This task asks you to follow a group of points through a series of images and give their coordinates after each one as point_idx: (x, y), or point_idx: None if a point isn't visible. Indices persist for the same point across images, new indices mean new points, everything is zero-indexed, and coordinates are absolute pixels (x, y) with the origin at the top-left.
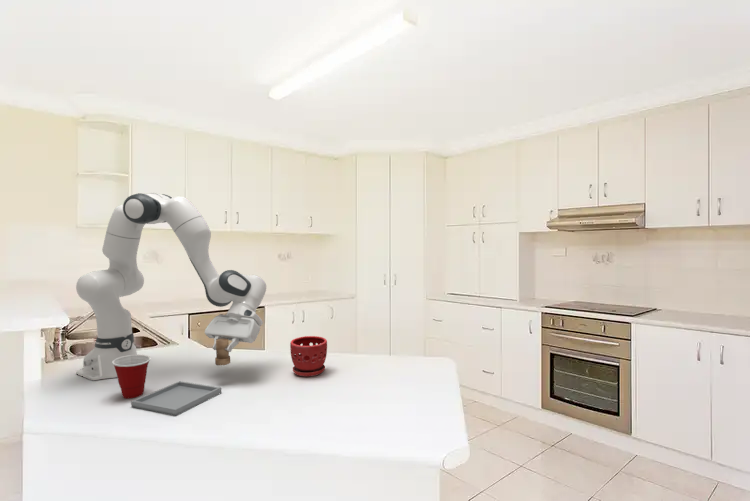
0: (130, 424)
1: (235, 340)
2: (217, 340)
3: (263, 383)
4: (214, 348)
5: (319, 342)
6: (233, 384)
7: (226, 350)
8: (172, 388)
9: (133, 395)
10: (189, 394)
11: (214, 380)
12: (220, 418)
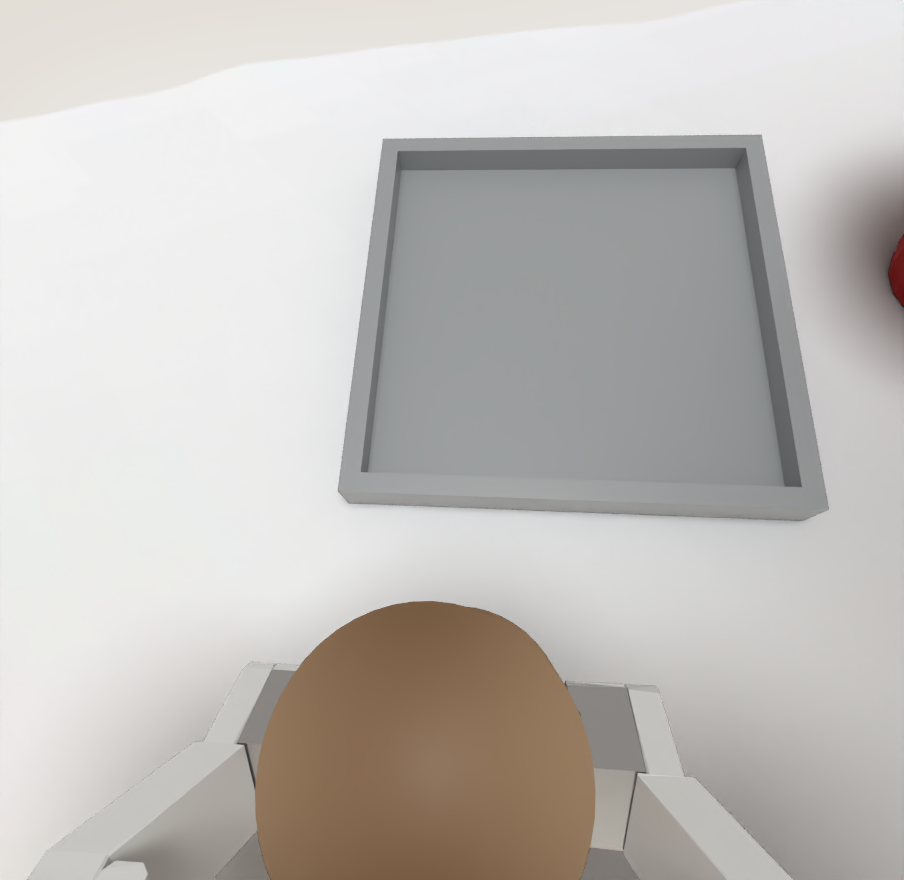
0: (536, 55)
1: (33, 877)
2: (514, 686)
3: None
4: (599, 686)
5: None
6: None
7: None
8: (776, 424)
9: (902, 237)
10: (538, 377)
11: None
12: (131, 217)
